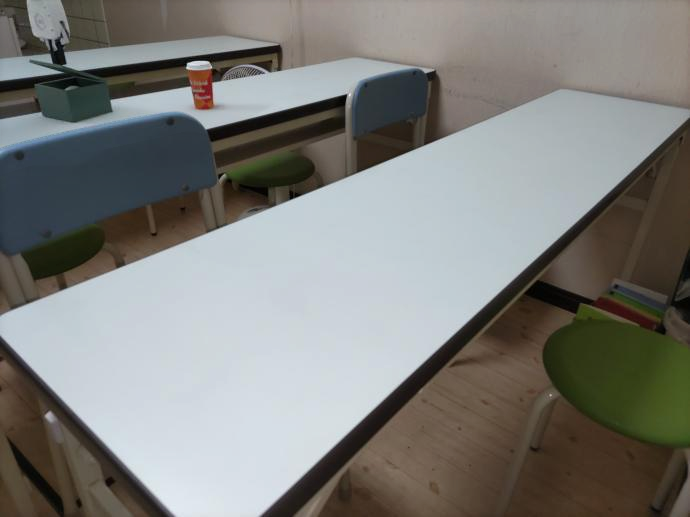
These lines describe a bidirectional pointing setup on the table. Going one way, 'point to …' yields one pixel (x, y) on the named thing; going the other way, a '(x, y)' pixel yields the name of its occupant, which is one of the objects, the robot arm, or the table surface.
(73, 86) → the white egg
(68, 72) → the bin lid
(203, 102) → the paper cup
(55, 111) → the bin
